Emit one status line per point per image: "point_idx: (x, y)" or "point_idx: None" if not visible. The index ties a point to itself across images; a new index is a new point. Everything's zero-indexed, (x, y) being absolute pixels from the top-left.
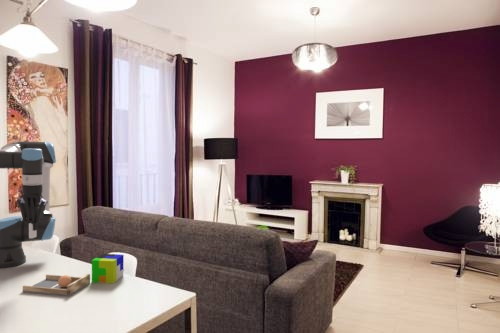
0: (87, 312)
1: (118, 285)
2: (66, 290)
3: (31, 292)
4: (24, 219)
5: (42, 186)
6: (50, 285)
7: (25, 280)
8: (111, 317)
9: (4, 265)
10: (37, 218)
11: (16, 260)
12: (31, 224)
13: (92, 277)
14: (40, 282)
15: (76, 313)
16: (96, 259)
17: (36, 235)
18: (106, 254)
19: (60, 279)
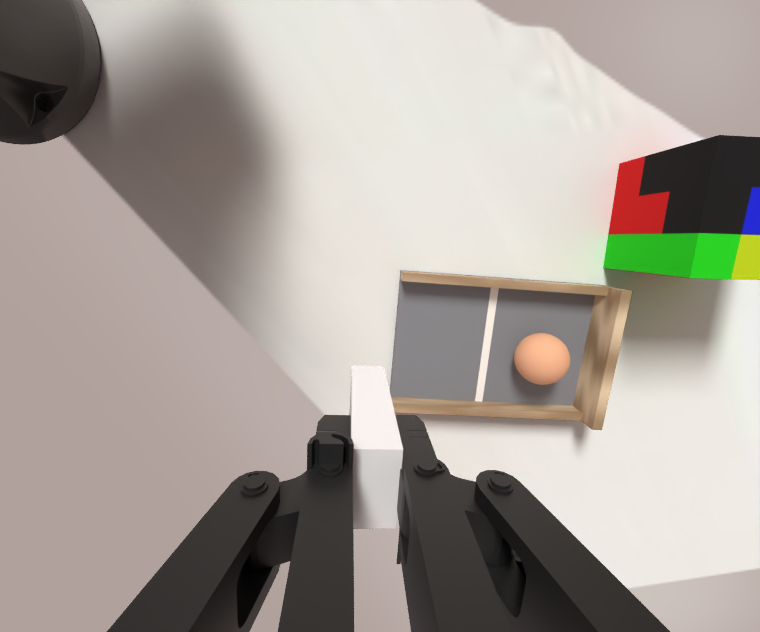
0: (681, 502)
1: (722, 289)
2: (578, 419)
3: None
4: (263, 577)
5: None
6: (464, 344)
7: (312, 290)
8: (757, 518)
9: (51, 131)
10: (510, 600)
11: (72, 77)
12: (389, 520)
13: (620, 269)
14: (403, 319)
15: (652, 512)
16: (711, 261)
17: (384, 370)
18: (743, 150)
19: (539, 382)
